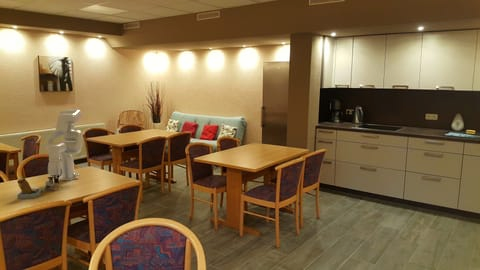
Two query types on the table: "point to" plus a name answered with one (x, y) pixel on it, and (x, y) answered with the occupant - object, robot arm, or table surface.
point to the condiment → (25, 186)
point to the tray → (33, 195)
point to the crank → (49, 182)
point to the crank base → (49, 189)
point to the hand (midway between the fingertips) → (56, 182)
